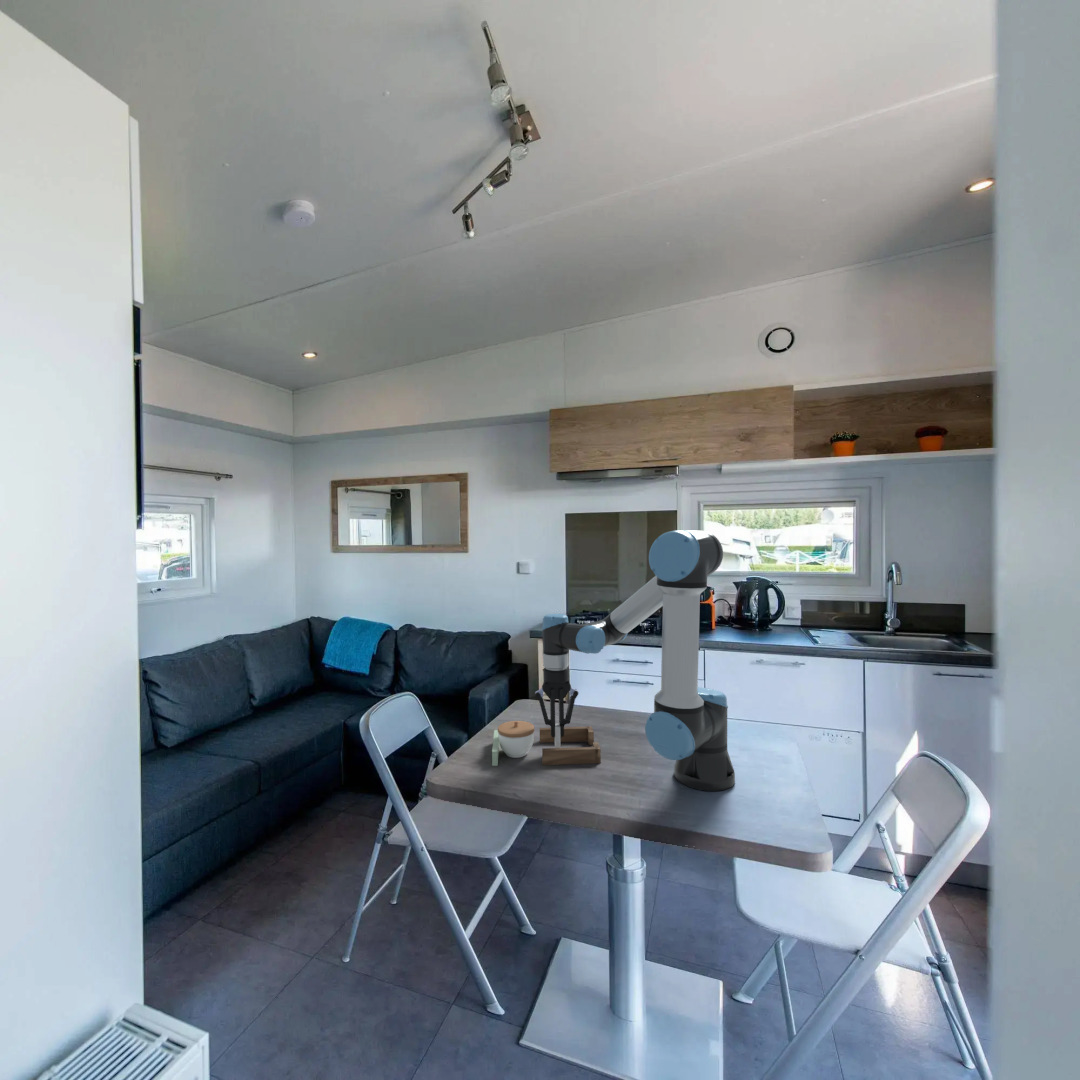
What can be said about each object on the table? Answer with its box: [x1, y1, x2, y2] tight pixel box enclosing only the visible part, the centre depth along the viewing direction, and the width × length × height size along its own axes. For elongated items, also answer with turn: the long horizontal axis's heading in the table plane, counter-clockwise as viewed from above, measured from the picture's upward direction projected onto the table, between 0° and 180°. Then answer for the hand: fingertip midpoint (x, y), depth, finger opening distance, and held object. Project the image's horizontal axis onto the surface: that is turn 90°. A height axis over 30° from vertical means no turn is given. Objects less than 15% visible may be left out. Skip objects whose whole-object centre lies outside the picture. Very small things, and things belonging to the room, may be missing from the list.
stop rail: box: [491, 729, 500, 767], centre depth 152 cm, size 16×2×4 cm, turn 3°
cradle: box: [539, 725, 602, 766], centre depth 153 cm, size 17×16×4 cm
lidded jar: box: [497, 720, 535, 759], centre depth 152 cm, size 11×11×9 cm
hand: (557, 747), depth 152 cm, fingers closed
